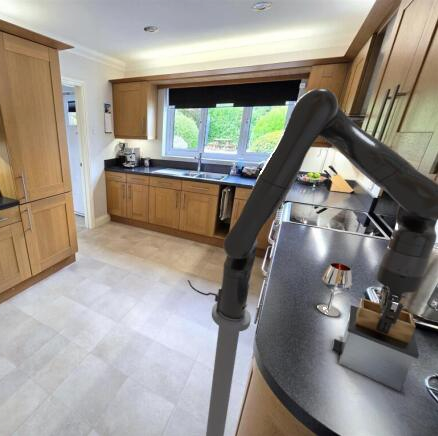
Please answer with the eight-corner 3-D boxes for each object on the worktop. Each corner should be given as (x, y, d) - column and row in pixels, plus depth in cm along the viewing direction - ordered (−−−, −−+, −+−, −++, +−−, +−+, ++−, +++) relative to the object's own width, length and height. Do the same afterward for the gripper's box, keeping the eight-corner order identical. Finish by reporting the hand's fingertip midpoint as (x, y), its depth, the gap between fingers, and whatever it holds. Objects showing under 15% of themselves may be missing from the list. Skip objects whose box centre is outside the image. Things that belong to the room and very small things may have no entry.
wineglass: (338, 307, 90) (351, 264, 85) (345, 321, 83) (359, 275, 78) (313, 301, 93) (323, 259, 88) (317, 314, 86) (328, 269, 81)
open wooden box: (355, 323, 65) (360, 308, 64) (356, 312, 69) (361, 297, 68) (408, 343, 59) (415, 326, 57) (405, 329, 63) (412, 313, 62)
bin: (330, 360, 68) (340, 325, 64) (334, 334, 77) (344, 302, 74) (402, 393, 59) (419, 355, 55) (397, 360, 68) (412, 325, 65)
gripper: (380, 253, 66) (363, 305, 71) (382, 273, 56) (362, 332, 61) (420, 262, 62) (398, 316, 67) (430, 286, 51) (404, 348, 56)
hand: (381, 324), depth 64 cm, fingers closed on open wooden box, 6 cm apart
